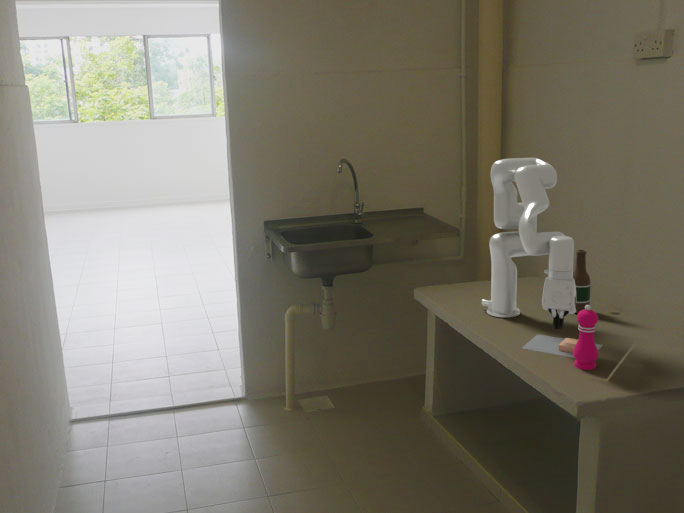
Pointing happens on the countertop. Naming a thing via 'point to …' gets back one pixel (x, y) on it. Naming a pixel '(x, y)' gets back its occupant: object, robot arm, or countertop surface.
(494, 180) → the robot arm
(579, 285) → the beer bottle
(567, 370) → the countertop surface
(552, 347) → the mat
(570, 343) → the tile
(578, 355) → the pepper mill
